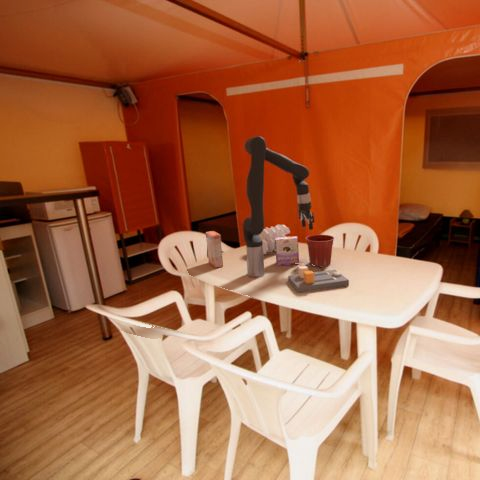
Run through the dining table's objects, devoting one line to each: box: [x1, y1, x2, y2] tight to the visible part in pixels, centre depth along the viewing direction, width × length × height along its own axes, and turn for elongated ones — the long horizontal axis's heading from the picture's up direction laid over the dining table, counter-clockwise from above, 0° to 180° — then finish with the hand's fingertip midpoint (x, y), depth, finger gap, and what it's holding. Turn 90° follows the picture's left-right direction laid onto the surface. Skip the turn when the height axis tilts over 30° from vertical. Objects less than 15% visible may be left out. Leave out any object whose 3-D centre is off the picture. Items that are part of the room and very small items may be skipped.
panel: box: [287, 269, 350, 294], centre depth 167 cm, size 26×16×4 cm, turn 99°
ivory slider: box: [297, 265, 309, 278], centre depth 169 cm, size 4×4×5 cm
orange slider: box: [303, 270, 314, 284], centre depth 162 cm, size 4×4×5 cm
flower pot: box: [305, 234, 335, 268], centre depth 194 cm, size 16×16×16 cm
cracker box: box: [205, 230, 224, 269], centre depth 208 cm, size 14×6×21 cm, turn 22°
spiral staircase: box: [259, 224, 291, 255], centre depth 227 cm, size 18×18×25 cm
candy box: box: [275, 235, 300, 266], centre depth 199 cm, size 14×6×16 cm, turn 84°
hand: (307, 228), depth 194 cm, fingers open, 8 cm apart
